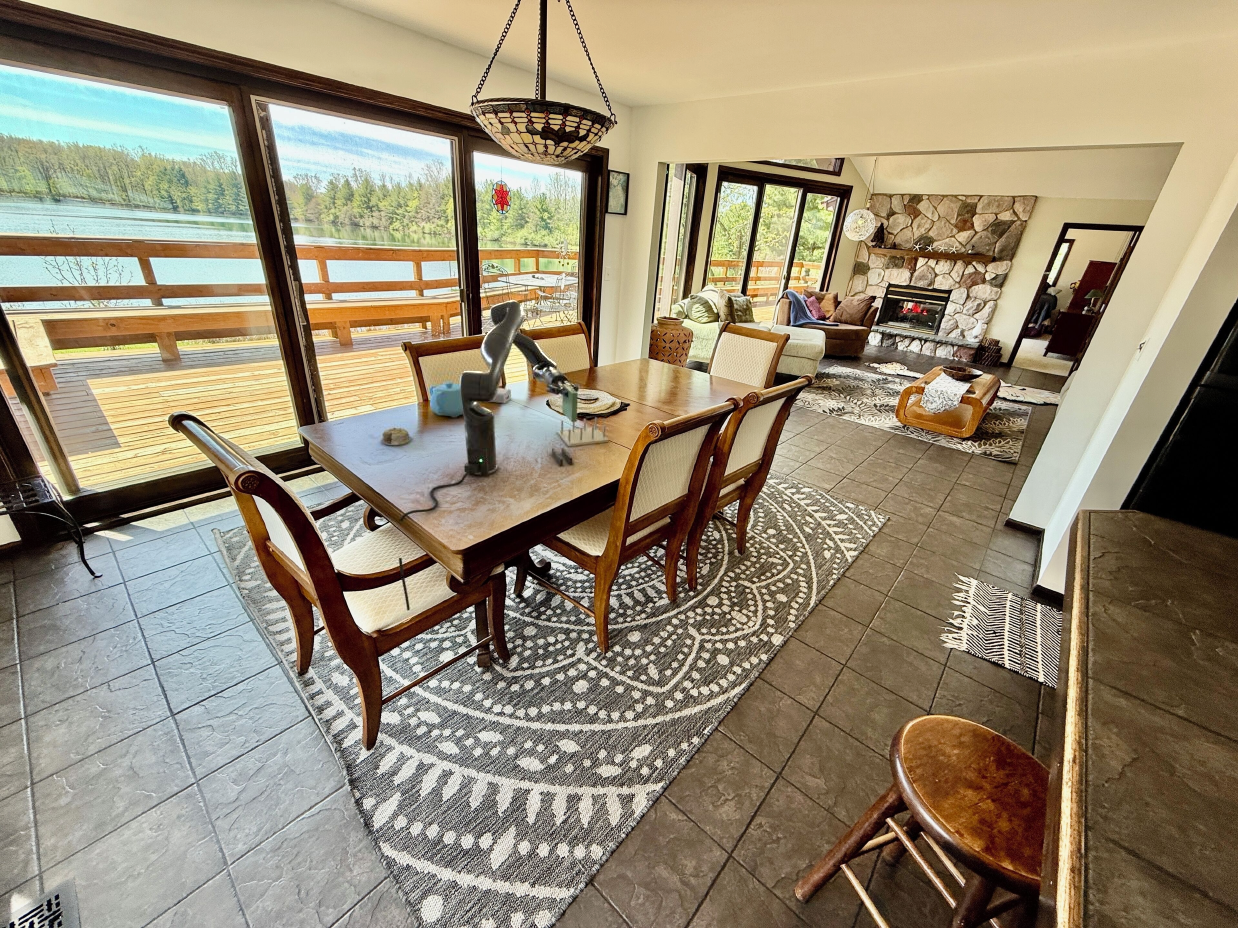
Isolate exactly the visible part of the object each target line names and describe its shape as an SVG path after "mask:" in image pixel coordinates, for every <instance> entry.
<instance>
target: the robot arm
mask: <svg viewBox="0 0 1238 928" xmlns="http://www.w3.org/2000/svg"><path fill="white" fill-rule="evenodd" d="M523 308H524V307H522V305H521V303H520V302H518V301H516V300H507V301H505V302H501V303H498V304H495V305H493V306H491V307H490V309H489V317H490V319H491V322H492V323H493V326H494V327H493V328H492V329H491V330H489V331H488V332H487V334H486V335H485V337H484V339H483V341H482V343H481V346H480V355H481V358H482V361H483V362H484V364H485V365H486V367H487V368H488V371H475V370H466V371H463V372H462V373H461V374H460V377H459V383H458V384H460V395H461V402H462V410H463V414H462V416H463V423H464V433H465V434H464V435H465V446H466V459H467V462H465V464H464V466H463V467H464V472H465V473H464V475H463V476H462V477H461V479H460V480H458V481H457V482H454V483H450V484H442V485H437V486H434V487H432V488H431V490H430V491H429V496H430V497H431V499H432V500H433V501H434V505H433V506H431V507H430V508H425V509H423V508H422V509H414V510H410V511H407V512H406V513H404V514H402V516H400V518H399V519H398V521H399V522H402V521H403V520H404V519H405V518H406V517H407V516H409V515H411V514H418V513H426V512H432V511H434V510H436V509H437V507H438V506H439V501H438V500H437V498H436V497H435V495H434V494H433V492H434V491H436V490H438V489H443V488H448V487H453V486H458V485H460V484H462V483H463V482H464V481H465V479H466V477H467V476H468V475H470V476H480V477H481V476H482V477H488V476H489V475H492V474H494V473H496V472H497V470H498V464H497V463H498V462H497V447H496V446H497V445H496V429H495V428H496V427H495V426H496V425H495V414H494V412H493V410H490V409H489V408H486V407H484V406H483V405H481V404H480V403H493V402H492V401H493V400H494V399H495V397H496V395H497V392H498V388H500V383H501V379H502V374H503V371H504V369H505V365H506V363H507V360H508V357H509V356H510V352H511V350H512V346H515V347H516V348H517V349H518V350H519V351H520V353H521V354H522V355H523V357H524V358H525V359H526V361H527V362H528V364H530V365H531V366H533V368H532V371H531V372H532V376H533V377H534V379H535V380H536V381H538V382H540V383H543V384H546V392H548V393H550V394H553V395H556V396H558V395H561V396H562V397H563V396H565V397H568V391H567V390H566V389H564V387H563V384H568V385H569V386H570V387H572V388H573V389H574V390H575V391H576V392H577V393H578V392H579V390H580V383H579V382H576V383H574V384H573V383H572V382H571V381H570V380H569V379H568V377H567V376H566V375H565V374H564V373H562V372H561V371H560V370H558V365H557V363H556V362H555V361H554V360H553V359H552V358H550V357H549V356H547V355H546V354H545V353H544V352H543V350H542V349H541V348H540V346H539V345H538V344H537V342H536V341H535V340H533V339H532V338H531V337H529V336H527V335H525V334H523V333H521V332H520V329H521V327H522V325H523V322H524V319H525V313H524V309H523ZM398 563H399V570H400V571H399V572H400V576H401V575H404V577H403V578H401V582H402V587H403V594H404V598H405V605H406V610H407V611H410V609H411V608H410V601H409V595H408V590H407V585H406V579H405V574H404V573H405V572H404V567H403V558H402V557H398Z"/></svg>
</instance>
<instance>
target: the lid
mask: <svg viewBox="0 0 1238 928" xmlns="http://www.w3.org/2000/svg"><path fill="white" fill-rule="evenodd" d="M563 387H564V389H566V390H567V391H568V397H565V396H563V395H562V401H561V402H562V406H561V409H562V410H561V412H562V413H563V415H564V416H565V417H566V418H567V419H568V420H569V421H570V422H571V423H573V422H575V423H576V422H578V397H579V396H578V395H579V394H578V392H576V391H575V390H574V389H573V388H572V387H570V386H569V385H568V384H563Z"/></svg>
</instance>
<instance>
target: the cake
mask: <svg viewBox="0 0 1238 928" xmlns="http://www.w3.org/2000/svg"><path fill="white" fill-rule="evenodd" d="M411 440H412V439H411V437H410V433H409V431H408V430H407V429H405V428H398V427H393V428H388V429H385V430H384V431H383V432H382V437H381V443H382V444H384V445H387V446H402V445H405V444H408V443H410V442H411Z"/></svg>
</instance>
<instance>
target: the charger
mask: <svg viewBox="0 0 1238 928" xmlns="http://www.w3.org/2000/svg"><path fill="white" fill-rule="evenodd" d="M511 398H512V389H510V388H501V387H499V388H498V392H497V395H496V397H495V399H494V400H493V401H492V402H491V403H497V404H506V403H507V402H509V401H510V400H511Z"/></svg>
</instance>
